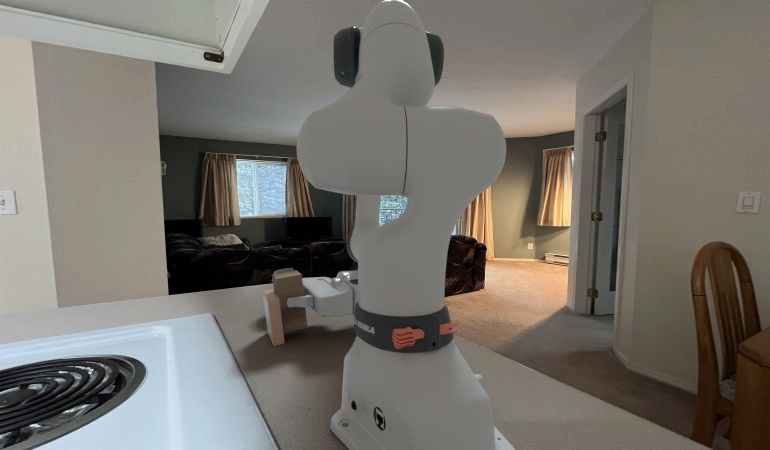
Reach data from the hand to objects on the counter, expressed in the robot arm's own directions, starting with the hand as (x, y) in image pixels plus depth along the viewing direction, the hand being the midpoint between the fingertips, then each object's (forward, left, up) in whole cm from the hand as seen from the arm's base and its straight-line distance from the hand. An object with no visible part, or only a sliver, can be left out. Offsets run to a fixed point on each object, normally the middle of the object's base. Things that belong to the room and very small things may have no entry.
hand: (283, 298), depth 71 cm
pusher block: (0, -2, -6) cm, 6 cm away
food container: (+17, -3, -8) cm, 19 cm away
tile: (0, +2, -8) cm, 8 cm away
